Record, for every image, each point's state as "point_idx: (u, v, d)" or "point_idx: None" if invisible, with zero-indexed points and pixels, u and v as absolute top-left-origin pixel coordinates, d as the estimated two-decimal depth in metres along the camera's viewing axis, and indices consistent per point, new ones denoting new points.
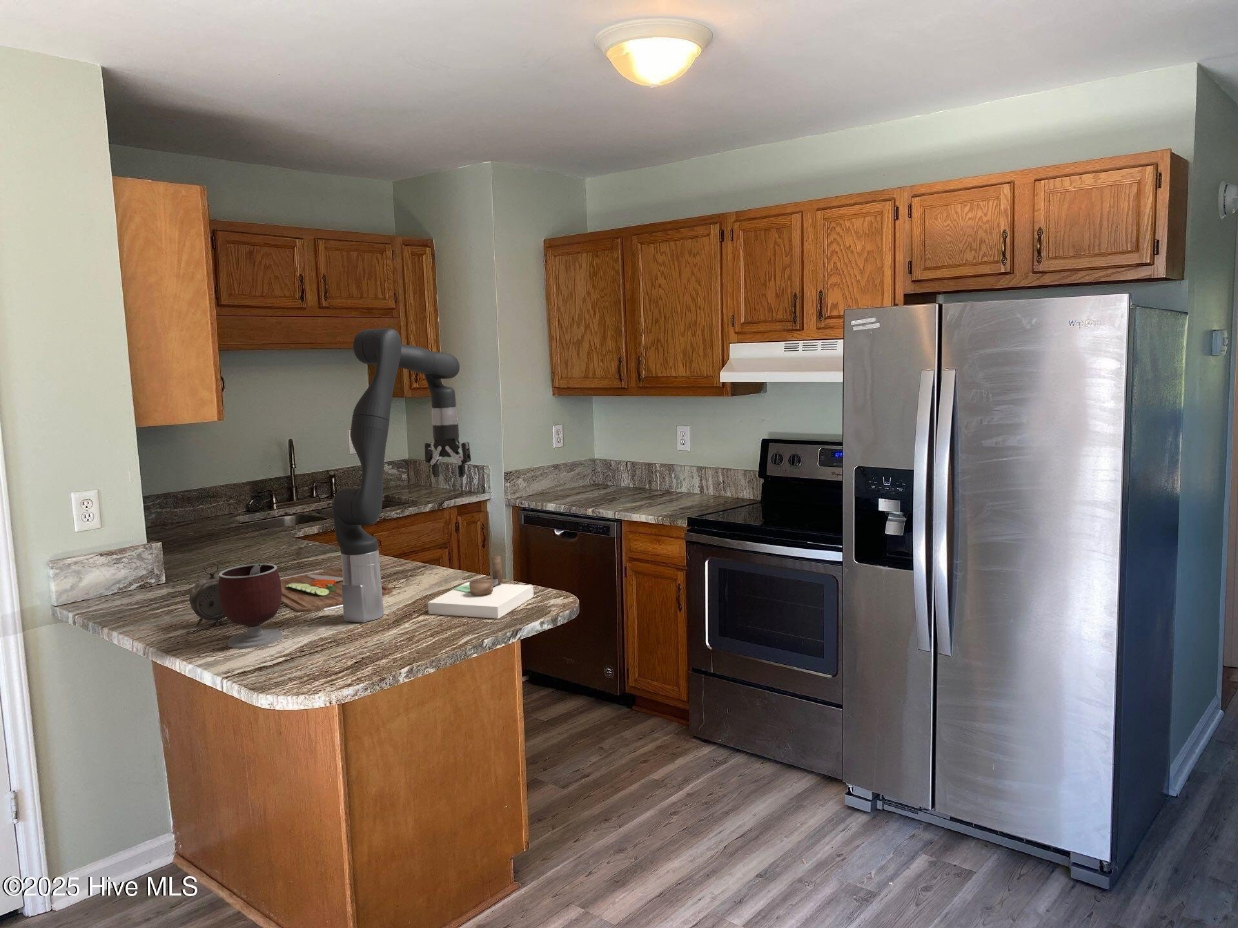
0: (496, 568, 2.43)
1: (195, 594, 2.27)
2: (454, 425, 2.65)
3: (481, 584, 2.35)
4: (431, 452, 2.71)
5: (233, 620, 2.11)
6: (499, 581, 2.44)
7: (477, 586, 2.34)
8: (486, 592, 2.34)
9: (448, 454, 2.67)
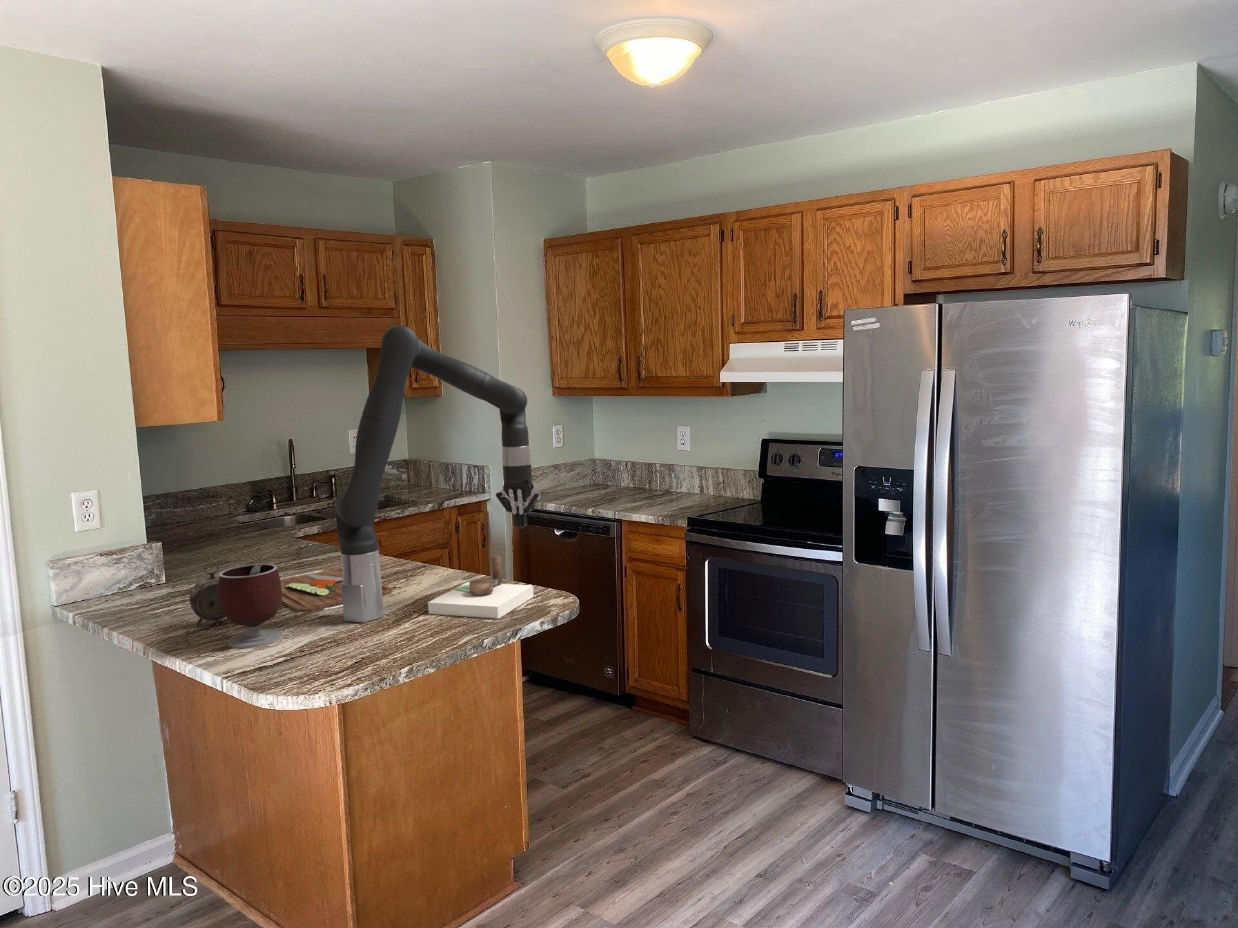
0: (496, 568, 2.43)
1: (195, 594, 2.27)
2: (527, 466, 2.36)
3: (481, 584, 2.35)
4: (507, 500, 2.41)
5: (233, 620, 2.11)
6: (499, 581, 2.44)
7: (477, 586, 2.34)
8: (486, 592, 2.34)
9: (516, 495, 2.38)
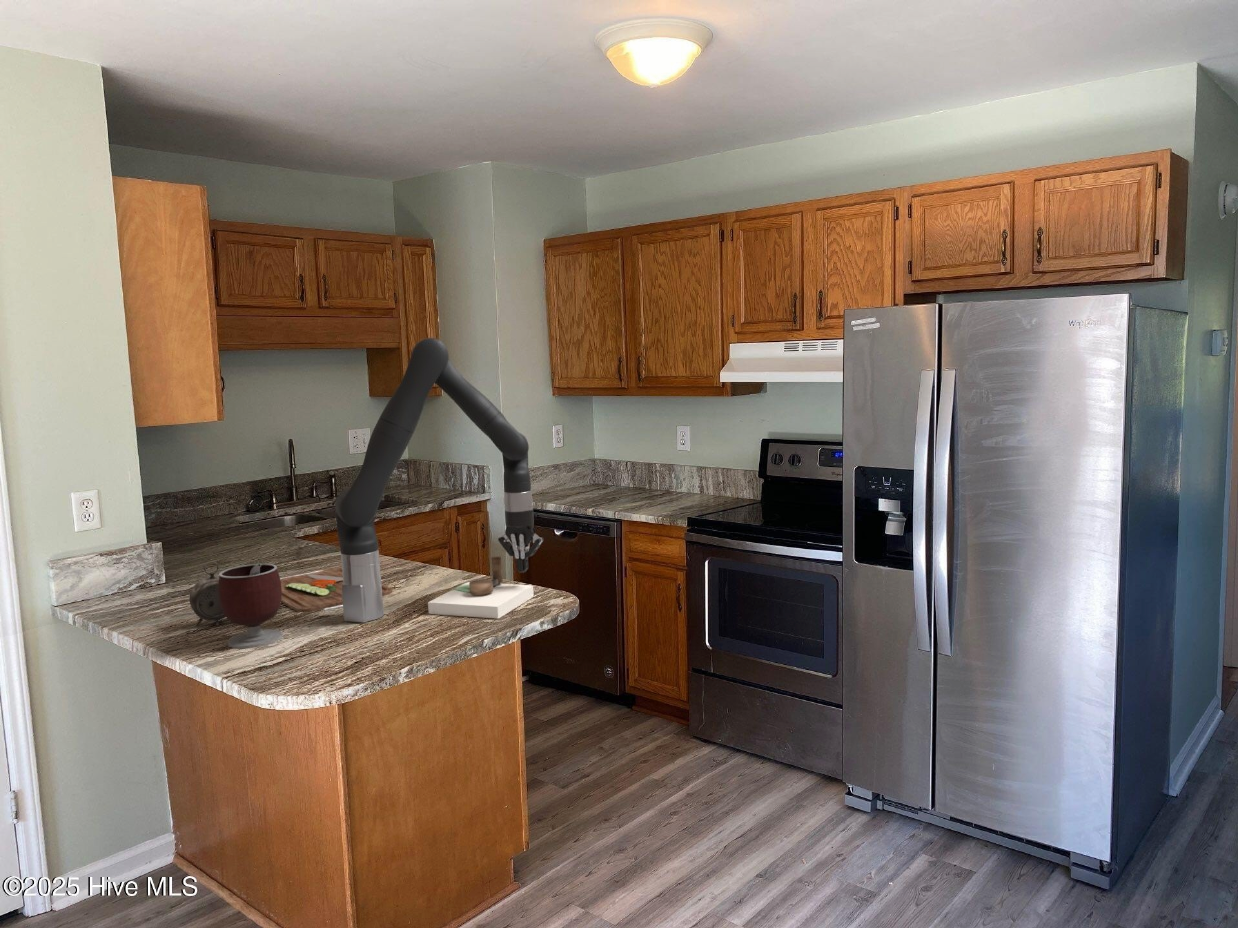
0: (496, 568, 2.43)
1: (195, 594, 2.27)
2: (529, 511, 2.38)
3: (481, 584, 2.35)
4: (510, 544, 2.43)
5: (233, 620, 2.11)
6: (499, 581, 2.44)
7: (477, 586, 2.34)
8: (486, 592, 2.34)
9: (518, 540, 2.40)
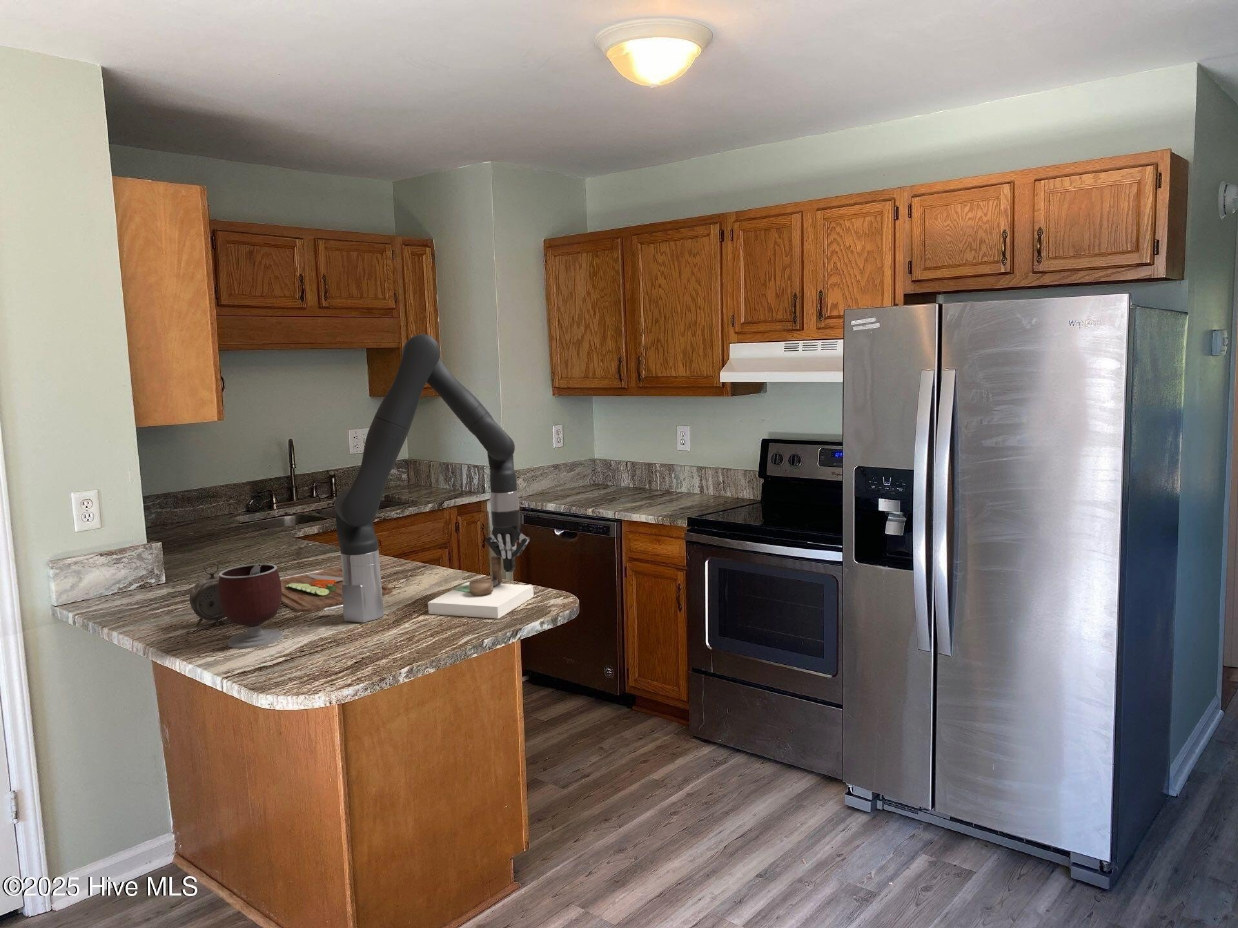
0: (495, 568, 2.43)
1: (195, 594, 2.27)
2: (515, 511, 2.39)
3: (481, 584, 2.35)
4: (496, 544, 2.44)
5: (233, 620, 2.11)
6: (499, 581, 2.44)
7: (477, 586, 2.34)
8: (486, 592, 2.34)
9: (504, 540, 2.41)
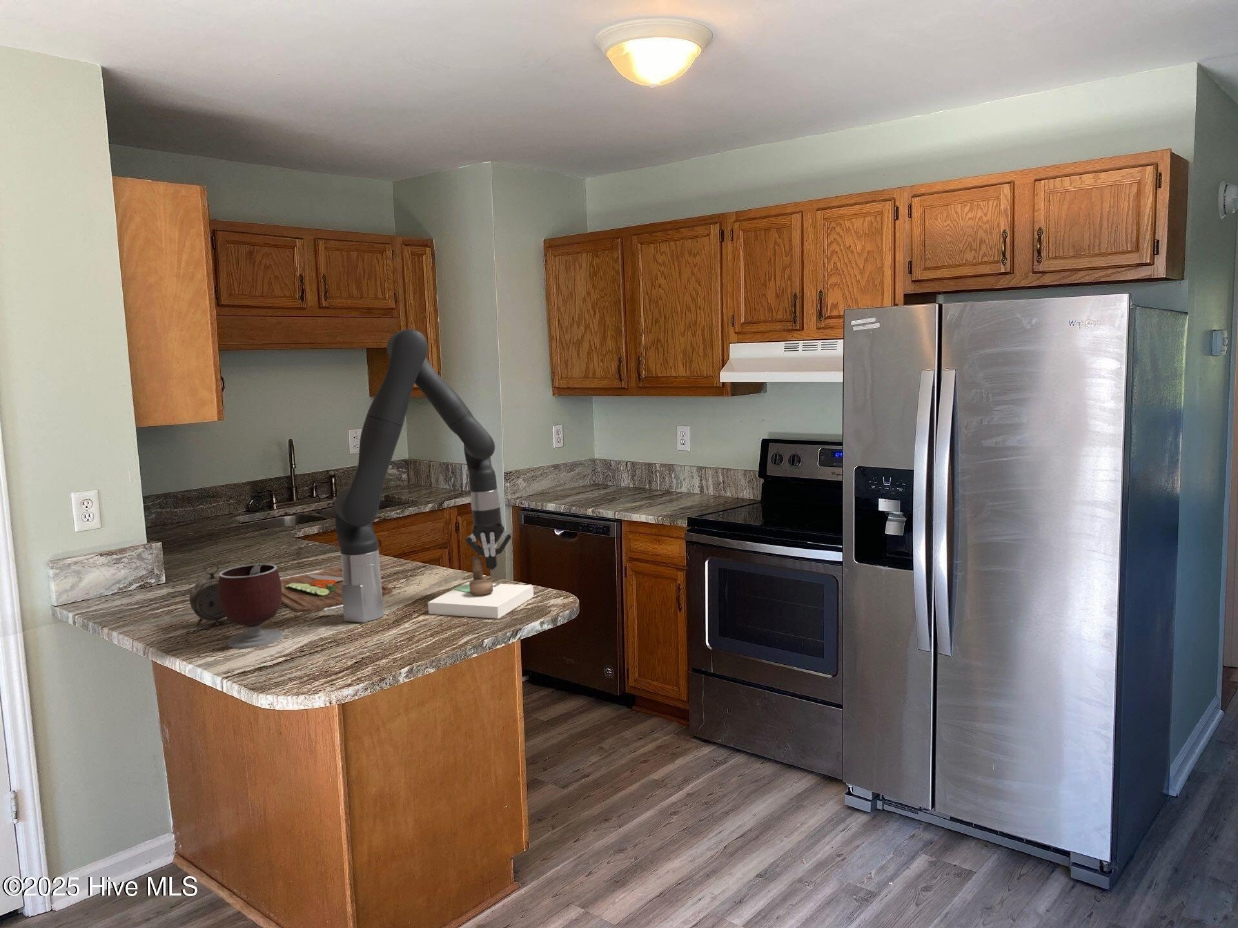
0: (479, 568, 2.44)
1: (195, 594, 2.27)
2: (498, 508, 2.42)
3: (485, 583, 2.35)
4: (476, 543, 2.45)
5: (233, 620, 2.11)
6: None
7: (484, 585, 2.34)
8: (491, 590, 2.36)
9: (487, 538, 2.43)
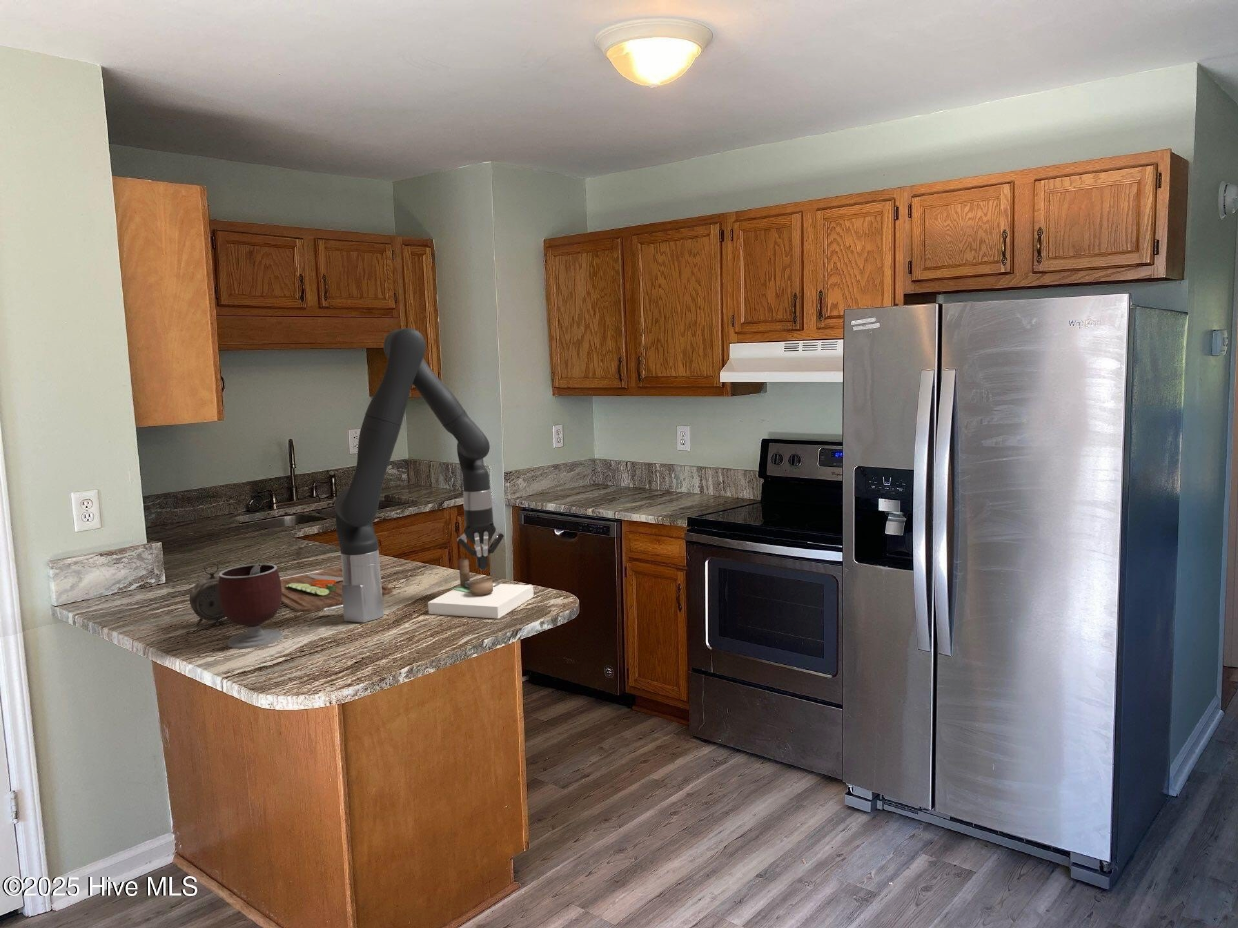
0: (467, 570, 2.43)
1: (195, 594, 2.27)
2: None
3: (487, 582, 2.36)
4: None
5: (233, 620, 2.11)
6: None
7: (488, 585, 2.35)
8: (492, 589, 2.37)
9: (480, 538, 2.43)
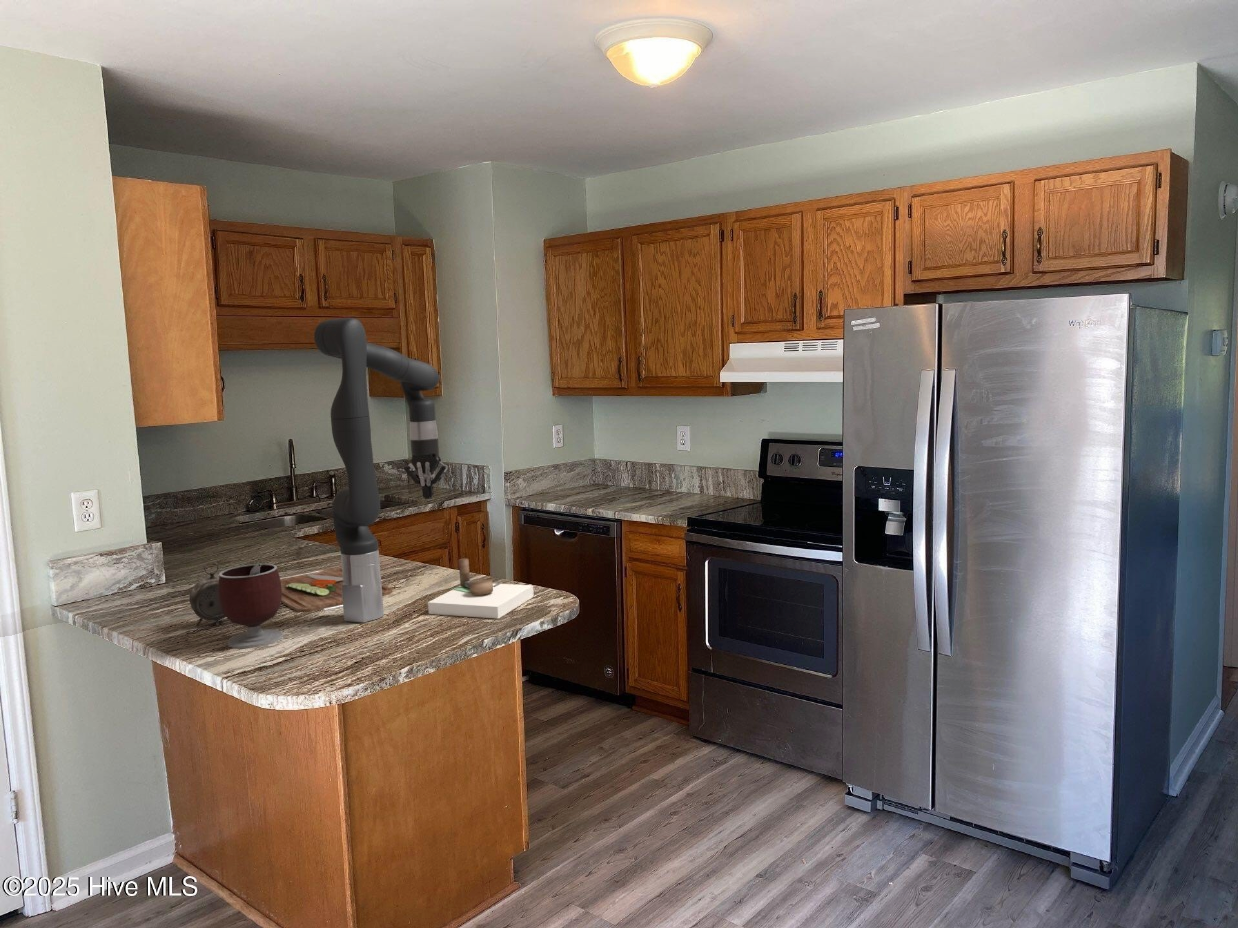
0: (467, 570, 2.43)
1: (195, 594, 2.27)
2: (435, 440, 2.50)
3: (487, 582, 2.36)
4: (415, 473, 2.54)
5: (233, 620, 2.11)
6: None
7: (488, 585, 2.35)
8: (492, 589, 2.37)
9: (423, 468, 2.52)
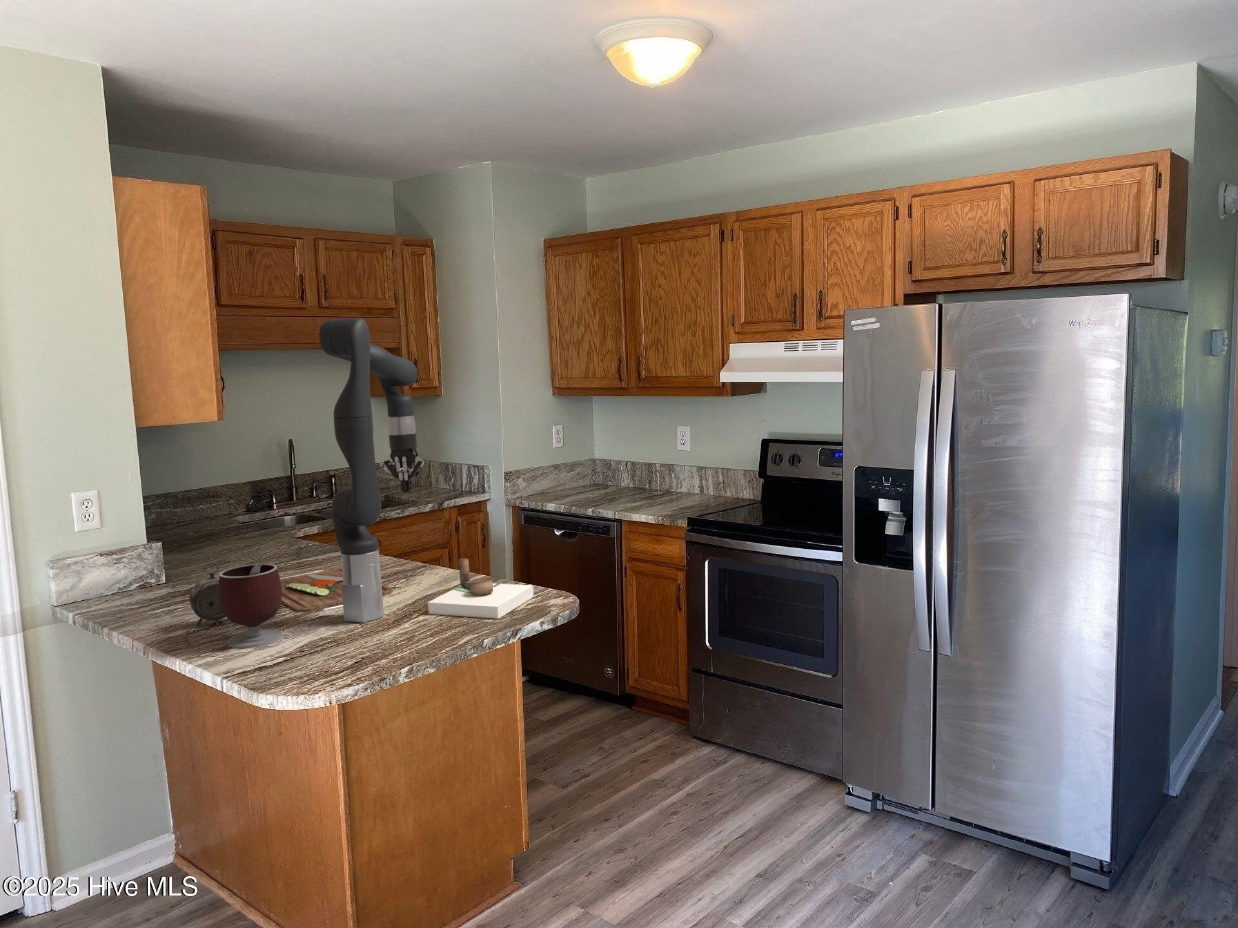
0: (467, 570, 2.43)
1: (195, 594, 2.27)
2: (411, 435, 2.53)
3: (487, 582, 2.36)
4: (395, 467, 2.58)
5: (233, 620, 2.11)
6: None
7: (488, 585, 2.35)
8: (492, 589, 2.37)
9: (401, 462, 2.55)
